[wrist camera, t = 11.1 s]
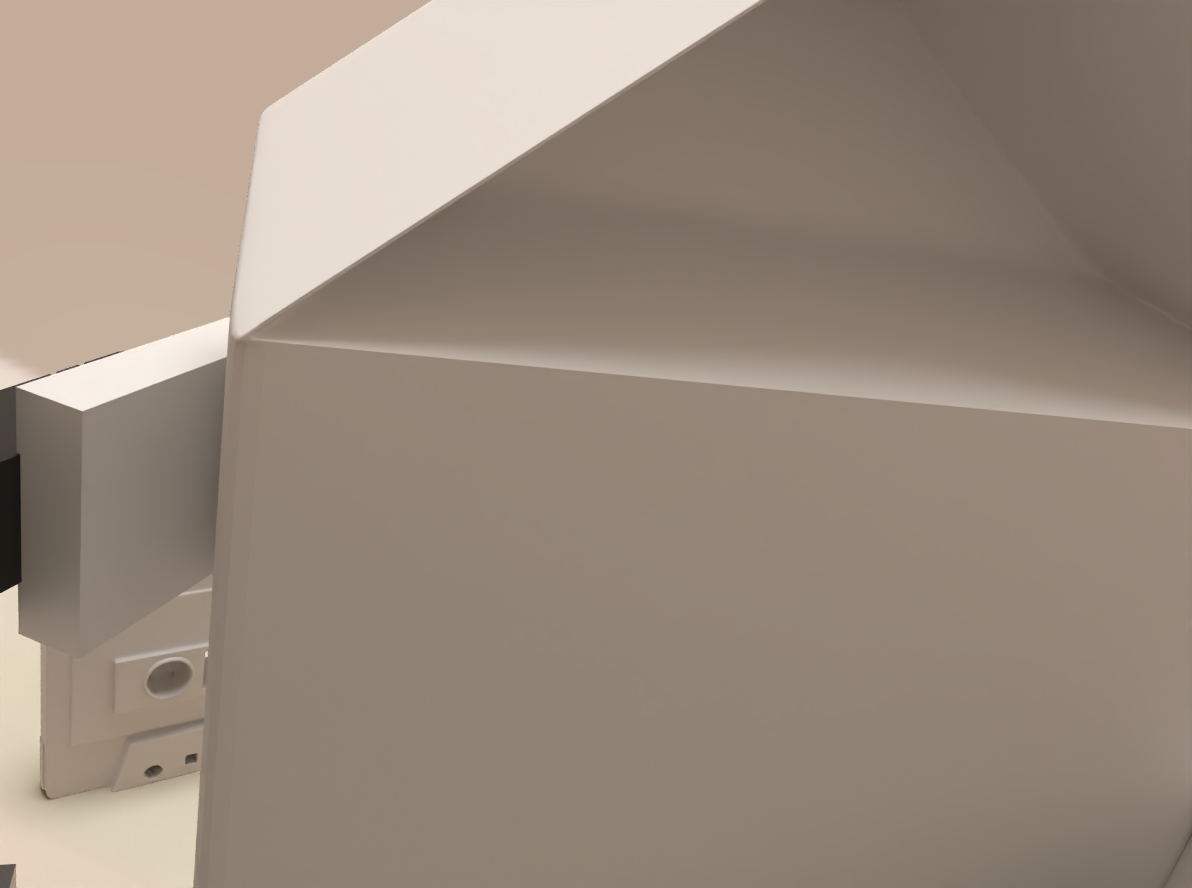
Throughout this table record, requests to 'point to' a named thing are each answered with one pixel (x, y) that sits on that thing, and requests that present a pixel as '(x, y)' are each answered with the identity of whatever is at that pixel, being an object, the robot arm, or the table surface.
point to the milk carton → (712, 453)
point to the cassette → (128, 702)
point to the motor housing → (8, 876)
